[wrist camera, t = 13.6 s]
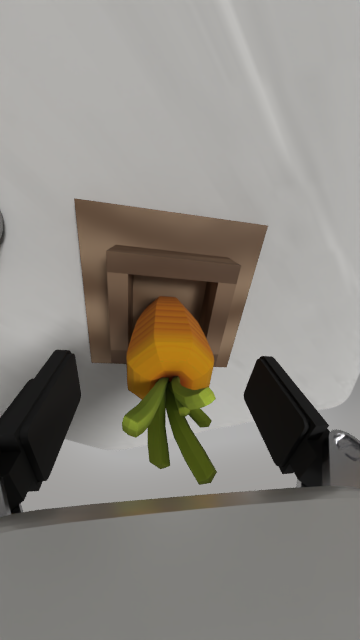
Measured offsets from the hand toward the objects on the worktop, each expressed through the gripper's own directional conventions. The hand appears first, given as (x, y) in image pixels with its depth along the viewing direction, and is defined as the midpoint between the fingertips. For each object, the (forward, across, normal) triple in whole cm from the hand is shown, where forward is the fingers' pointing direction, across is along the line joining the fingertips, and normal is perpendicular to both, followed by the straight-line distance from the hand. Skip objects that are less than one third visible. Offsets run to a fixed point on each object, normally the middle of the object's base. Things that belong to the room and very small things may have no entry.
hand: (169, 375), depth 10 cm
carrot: (+11, 0, 0) cm, 11 cm away
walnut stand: (+12, -1, 0) cm, 12 cm away
